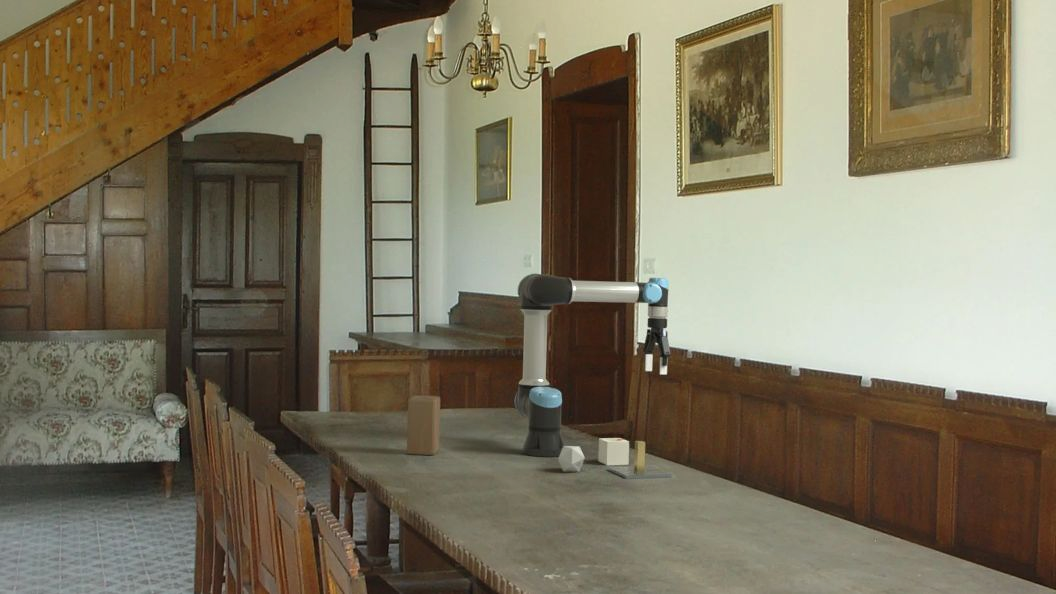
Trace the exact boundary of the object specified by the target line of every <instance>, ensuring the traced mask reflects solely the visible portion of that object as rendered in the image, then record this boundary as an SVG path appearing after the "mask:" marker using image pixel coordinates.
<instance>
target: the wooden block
mask: <svg viewBox="0 0 1056 594" xmlns="http://www.w3.org/2000/svg"><path fill="white" fill-rule="evenodd" d="M440 421H441V397H440V396H438V395H419V394H418V395H417V394H416V395H415V394H414V395H413V396H411V397H409V398H408V401H407V432H406V433H407V434H406V437H407V438H406V441H407V442H406V453H407V455H411V456H412V455H415V456H419V455H420V456H434V455H436V454H437V453H438V452H439V450H440V428H441V427H440V425H441V423H440Z"/></svg>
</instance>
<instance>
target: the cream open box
mask: <svg viewBox="0 0 1056 594" xmlns="http://www.w3.org/2000/svg"><path fill="white" fill-rule="evenodd" d="M629 456H630V441H629V440H626V439H625V438H621V437H612V438H611V437H607V438H606V437H603V438H601V437H600V438H598V457H597V458H598V460H597V461H598V462H599V463H601V464H603V465H605V466H629V461H630V460H629V459H630V457H629Z"/></svg>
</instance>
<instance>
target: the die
mask: <svg viewBox="0 0 1056 594" xmlns="http://www.w3.org/2000/svg"><path fill="white" fill-rule="evenodd" d="M584 460H585V455H584V453H583V451H582V449H581V447H580V446H576V445H575V446H574V445H569V446H568V445H564V446H563V449H562V451H561V453H560V456H558V460H557V461H558V463H559V465H560V467H561V470H562V472H565V473H567V472H569V473H570V472H571V473H579V472H580V470H581V469H582V466H583V465H584Z"/></svg>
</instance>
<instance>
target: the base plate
mask: <svg viewBox="0 0 1056 594" xmlns="http://www.w3.org/2000/svg"><path fill="white" fill-rule="evenodd" d="M645 458H646V441H642V440H635V441H634V458H633V460H634V462H633V465H616V466H607V471H609V472H611V473H613V474H615V475H618V476H619V477H621V478H624V479H625V480H630V479H654V478H655V479H663V478H672V476H673V475H672V473H669V472H668V471H665V470H663V469H660V468H658V467H656V466H654V465H646V462H645V461H646V459H645Z"/></svg>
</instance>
